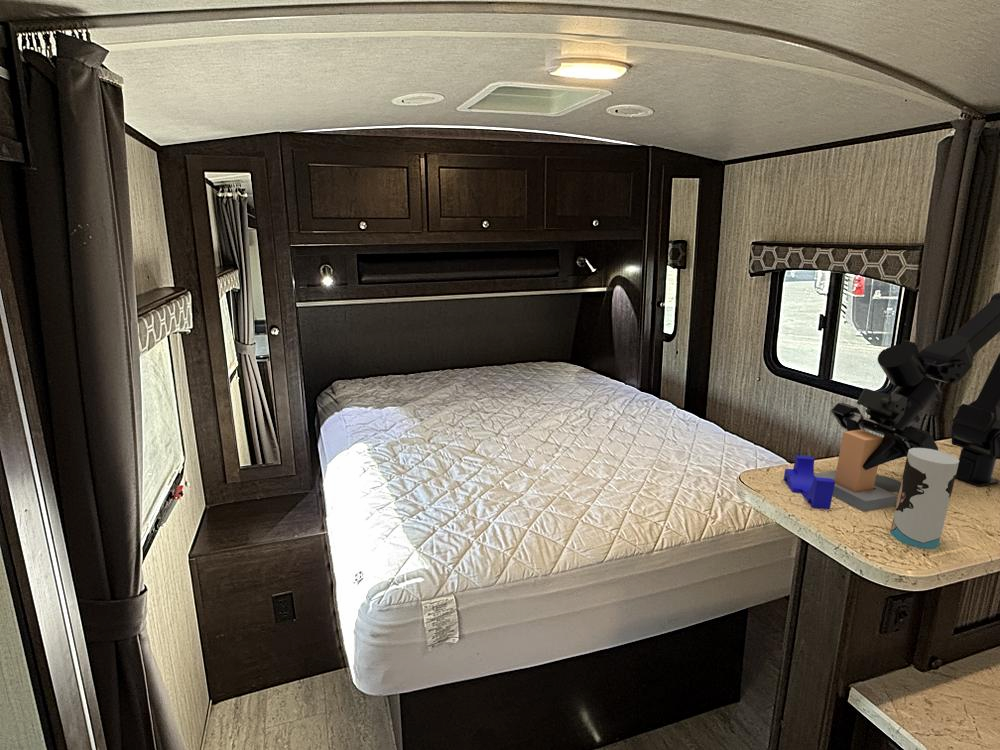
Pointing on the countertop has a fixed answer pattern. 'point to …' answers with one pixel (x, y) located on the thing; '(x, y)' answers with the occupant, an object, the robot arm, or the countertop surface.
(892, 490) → the coaster
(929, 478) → the cup
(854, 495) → the socket block
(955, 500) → the countertop surface
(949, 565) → the countertop surface
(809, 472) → the cable clip
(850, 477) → the tan rectangular block
